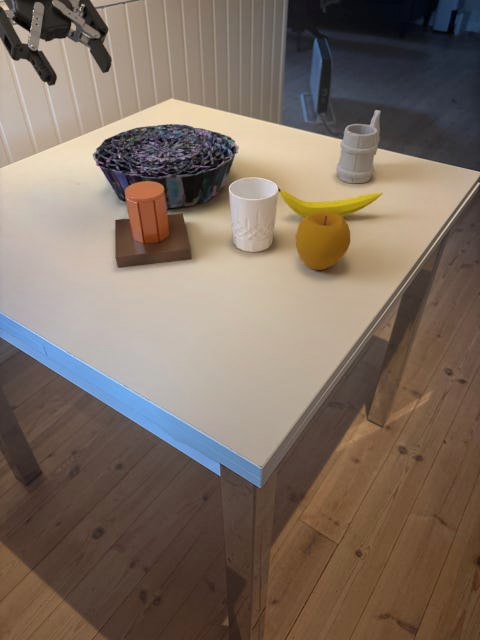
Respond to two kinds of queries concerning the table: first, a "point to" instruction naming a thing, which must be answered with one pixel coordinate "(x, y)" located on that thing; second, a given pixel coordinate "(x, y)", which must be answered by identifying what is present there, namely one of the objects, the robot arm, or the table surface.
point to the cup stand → (151, 244)
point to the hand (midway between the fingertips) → (81, 75)
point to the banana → (328, 204)
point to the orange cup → (147, 211)
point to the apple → (322, 239)
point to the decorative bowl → (168, 161)
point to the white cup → (253, 213)
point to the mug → (359, 151)
